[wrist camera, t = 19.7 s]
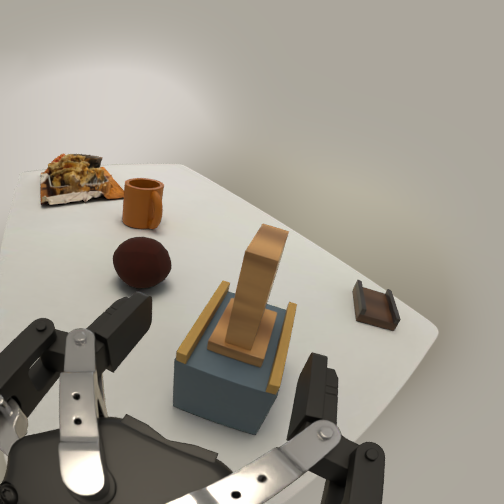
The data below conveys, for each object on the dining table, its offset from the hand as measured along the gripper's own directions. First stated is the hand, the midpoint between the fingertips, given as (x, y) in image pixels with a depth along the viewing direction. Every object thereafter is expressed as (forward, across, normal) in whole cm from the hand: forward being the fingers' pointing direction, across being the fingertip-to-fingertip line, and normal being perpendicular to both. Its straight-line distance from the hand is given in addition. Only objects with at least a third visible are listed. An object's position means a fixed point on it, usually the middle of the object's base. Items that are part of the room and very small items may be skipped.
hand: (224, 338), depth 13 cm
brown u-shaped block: (+36, -20, +17) cm, 45 cm away
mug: (+41, +31, +17) cm, 54 cm away
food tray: (+53, +65, +17) cm, 85 cm away
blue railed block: (+11, 0, +17) cm, 21 cm away
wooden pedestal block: (+11, 0, +9) cm, 14 cm away
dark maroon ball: (+22, +19, +17) cm, 34 cm away
